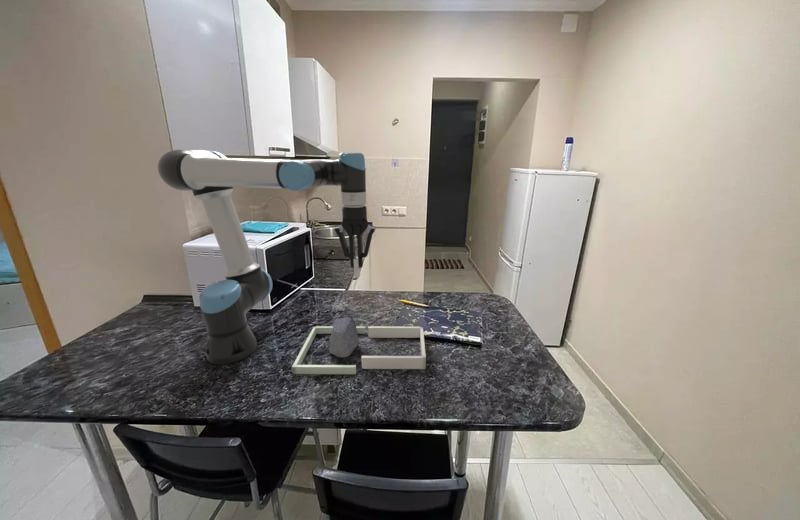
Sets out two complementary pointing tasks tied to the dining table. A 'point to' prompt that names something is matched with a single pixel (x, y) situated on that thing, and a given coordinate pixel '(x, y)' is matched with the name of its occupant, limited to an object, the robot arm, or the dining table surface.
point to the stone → (343, 337)
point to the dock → (395, 361)
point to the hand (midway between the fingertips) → (357, 276)
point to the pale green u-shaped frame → (322, 369)
